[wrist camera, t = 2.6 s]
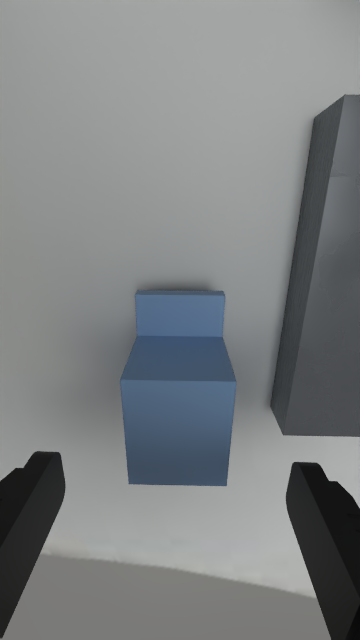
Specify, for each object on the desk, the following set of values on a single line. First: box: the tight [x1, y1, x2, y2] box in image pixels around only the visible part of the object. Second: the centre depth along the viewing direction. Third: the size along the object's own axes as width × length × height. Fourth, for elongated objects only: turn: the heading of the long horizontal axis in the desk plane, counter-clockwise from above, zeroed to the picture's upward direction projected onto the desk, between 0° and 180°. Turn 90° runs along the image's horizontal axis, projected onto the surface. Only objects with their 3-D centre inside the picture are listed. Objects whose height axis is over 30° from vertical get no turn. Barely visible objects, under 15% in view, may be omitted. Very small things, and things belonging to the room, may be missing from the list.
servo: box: [120, 290, 236, 486], centre depth 14 cm, size 9×4×7 cm, turn 0°
